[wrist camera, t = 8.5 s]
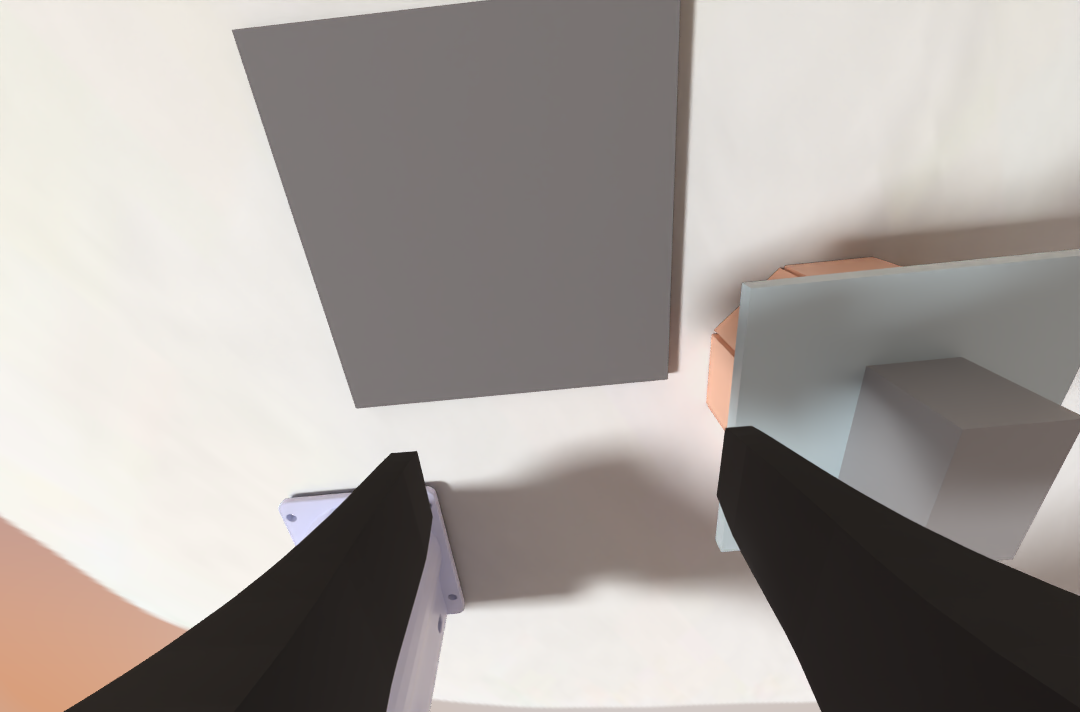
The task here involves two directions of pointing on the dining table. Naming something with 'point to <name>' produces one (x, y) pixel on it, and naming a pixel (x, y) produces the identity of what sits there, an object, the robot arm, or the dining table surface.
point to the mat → (481, 189)
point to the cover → (920, 386)
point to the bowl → (727, 330)
